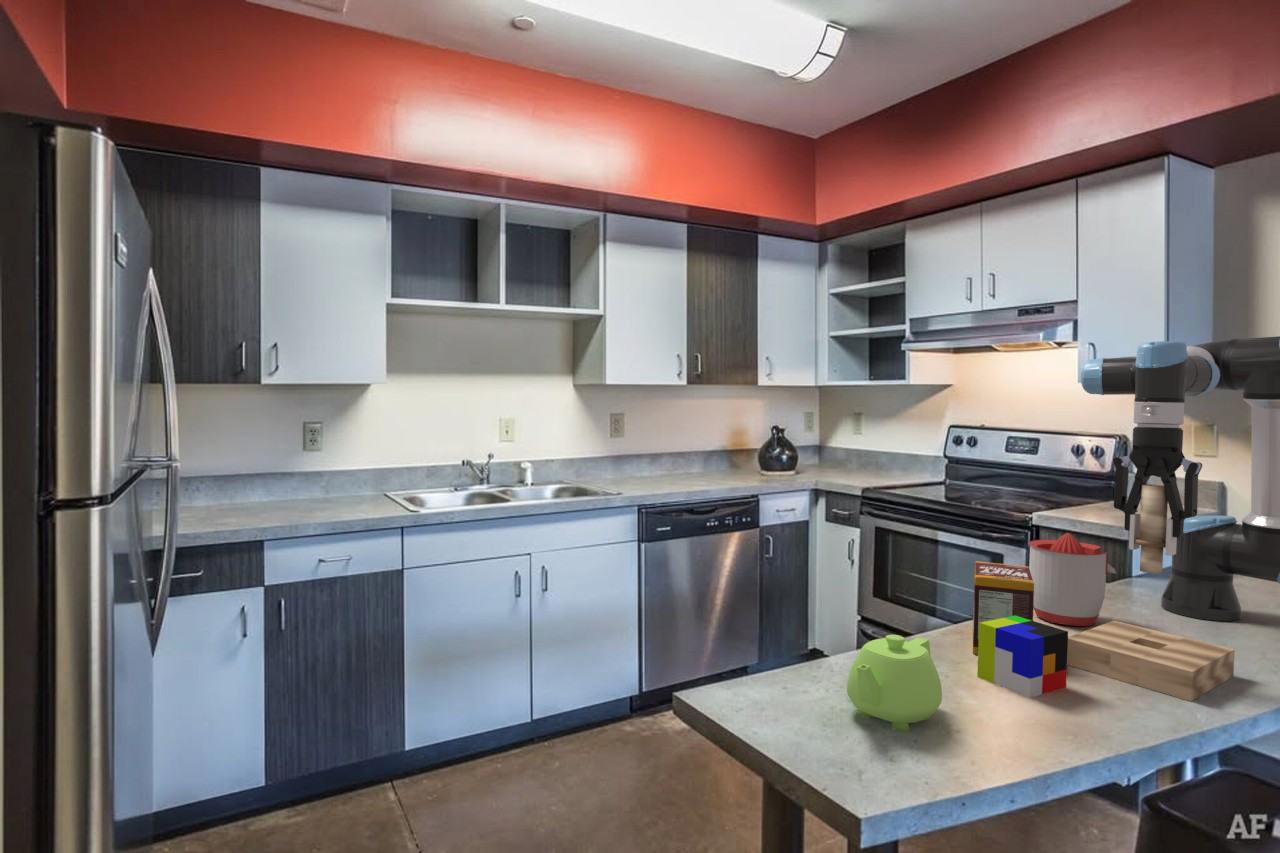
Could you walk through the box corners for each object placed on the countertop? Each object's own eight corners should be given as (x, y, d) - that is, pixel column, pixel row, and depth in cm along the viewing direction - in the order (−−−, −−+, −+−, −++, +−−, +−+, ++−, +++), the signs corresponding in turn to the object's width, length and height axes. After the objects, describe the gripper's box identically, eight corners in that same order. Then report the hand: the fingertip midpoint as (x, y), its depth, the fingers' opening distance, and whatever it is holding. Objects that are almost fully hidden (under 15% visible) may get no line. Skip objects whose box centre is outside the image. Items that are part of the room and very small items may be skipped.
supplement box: (1026, 639, 151) (1029, 565, 150) (1032, 663, 137) (1035, 582, 136) (972, 631, 155) (974, 560, 155) (972, 654, 141) (974, 576, 141)
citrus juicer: (1123, 635, 154) (1127, 542, 153) (1032, 625, 160) (1035, 536, 159) (1104, 614, 169) (1107, 530, 168) (1021, 606, 175) (1024, 524, 174)
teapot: (898, 751, 102) (900, 664, 101) (818, 718, 112) (820, 638, 112) (964, 713, 115) (967, 635, 114) (888, 686, 125) (890, 614, 125)
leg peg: (1140, 567, 137) (1144, 483, 136) (1173, 572, 133) (1177, 486, 132) (1129, 570, 134) (1132, 484, 133) (1161, 576, 130) (1165, 487, 129)
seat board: (1112, 644, 148) (1113, 620, 148) (1233, 676, 132) (1234, 649, 132) (1064, 663, 137) (1065, 637, 137) (1190, 701, 120) (1192, 671, 120)
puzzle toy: (1029, 698, 121) (1031, 639, 121) (977, 677, 130) (979, 622, 129) (1065, 687, 126) (1068, 631, 125) (1013, 668, 135) (1015, 615, 134)
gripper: (1094, 424, 138) (1089, 544, 139) (1210, 428, 123) (1203, 563, 124) (1112, 424, 142) (1107, 541, 143) (1226, 428, 127) (1219, 558, 128)
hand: (1152, 551), depth 133 cm, fingers closed on leg peg, 5 cm apart
